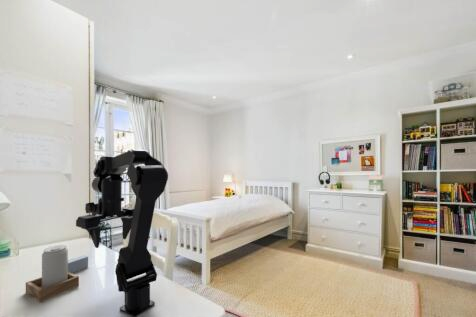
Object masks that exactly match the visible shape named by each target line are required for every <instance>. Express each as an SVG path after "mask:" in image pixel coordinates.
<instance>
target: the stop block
mask: <svg viewBox="0 0 476 317" xmlns="http://www.w3.org/2000/svg"><path fill="white" fill-rule="evenodd" d="M88 268H89V256H87V255H84V254H82V255H80V256H77V257H73V258H70V259H68V272H70V273H72V274H74V273H77V272H79V271H82V270H85V269H88Z"/></svg>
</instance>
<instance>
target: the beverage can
mask: <svg viewBox="0 0 476 317" xmlns="http://www.w3.org/2000/svg"><path fill="white" fill-rule="evenodd" d="M68 252H69V251H68V249H67V246H66V245H64V244H63V245H61V244H59V245H54V246H49V247H46V248H44V249H43V253H42V254H41V277H42V289H44V288H47V287H50V286H52V285H55V284H58V283H60V282H63V281H65V280H68V260H69V259H68V258H69V256H68V254H69V253H68Z"/></svg>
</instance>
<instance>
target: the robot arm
mask: <svg viewBox="0 0 476 317" xmlns="http://www.w3.org/2000/svg"><path fill="white" fill-rule="evenodd" d="M125 172H126V175H127V177H128V179H129V181H130V188H131V189H132V191H133V193H134V195H135V202H134V206H128V207H123V208H122V202H124V201H125V197H122V196H123V195H122V194H123V193H122V191H123V190H122V185H123V184H122V182H123V181H124V178H123V177H122V175H123V173H125ZM92 173H93V177H95V178H94V179H93V180H92V182H91V187H92V190H93V191H95V192H98V193H101V197H100V198H98V203H94V201H91V202H87V203H85V206H84V208H85V209H84V210H85V215H80V216H78V217H77V218H76V221H75V226H76V227H77V228H81V229H83V230H86V231H87V233H88V234H89V235H90V238H91V240H92V243H93V246H94V247H95V249H98V248H100V240H101V233H102V232H101V231H102V230H101V229H102V226H100V224H101V223H102V222H106V221H110V220H111V221H112V220H116V219H120V220H121V223H122V235H121V236H122V240H126V239H127V237H128V242H127V243H128V244H127V246H123V247H121V248H120V249H119V252H118V259H117V263H116V265H115V271H114V272H115V276H116V284H117V287H118V288H117V289H118V290H117V291H118V292H123V294H124V304H123V305H122V306H120V307H119V311H121V312H123V313H126V314H128V315H129V316H132V317H138V316H139V315H140V314H141V313H143V312H145V311H147V310H148V309H149V308H151V307H152V306H154V305H155V304H156V303H155V301H153V300H151V283H153V282H156V281H157V277H158V273H157V270H156V268H155V266H154V264H153V261H152V255H151V253H150V251H149V250H148V244H149V240H150V235H151V228H152V223H153V218H154V213H155V207H156V206H155V205H156V203H157V200H158V199H159V197H160V196H161V195H162V194H163V193H164V192H165V189H166V186H167V183H168V180H169V173H168V171H167V169H166V168H165V166H164V165H163V163H162V162H161V161H159V160H158V159H157V158H155V157H154V156H152V155H151V154H150V152H149V151H148V150H146V149H133V148H132V149H129V150H127V151H126V152H123V153H120V154H118V155H115V156H113V155H111V156H110V155H108V156H107V155H102V156H101V157H100V158H99V159H98V160H97V162H96V164H95V166H94V170H93V172H92ZM128 235H129V236H128ZM135 277H136V278H135Z"/></svg>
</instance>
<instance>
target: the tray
mask: <svg viewBox="0 0 476 317" xmlns="http://www.w3.org/2000/svg"><path fill="white" fill-rule="evenodd" d="M79 286H80V276H79V275H77V274H74V273H70V272H68V280H65V281H63V282H60V283H58V284H55V285H52V286H50V287H47V288H44V289H42V276H41V277H38V278H35V279H33V280H30V281H26V282H25V294H26V295H29V297H31V298H33V299H34V300H36V301H37V302H39V303H42V302H44V301H47V300H50V299H52V298H55V297H57V296H59V295H62V294H63V293H66V292H69V291H71V290H74V289H76V288H77V287H79Z"/></svg>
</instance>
